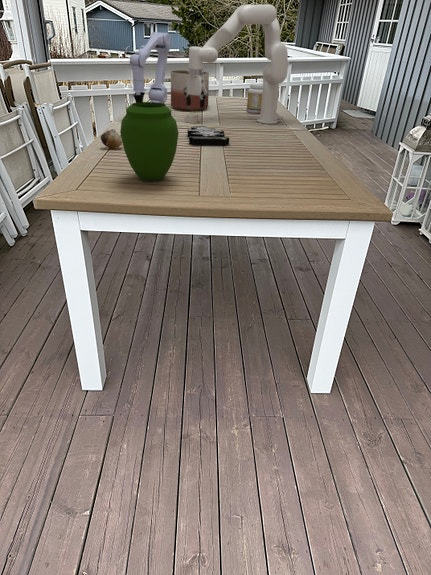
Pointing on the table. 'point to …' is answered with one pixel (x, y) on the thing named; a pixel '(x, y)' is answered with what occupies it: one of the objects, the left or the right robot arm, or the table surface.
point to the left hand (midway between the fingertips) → (139, 107)
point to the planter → (178, 95)
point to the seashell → (111, 139)
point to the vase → (149, 139)
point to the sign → (207, 136)
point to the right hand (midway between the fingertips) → (195, 106)
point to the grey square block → (191, 118)
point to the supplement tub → (254, 98)
